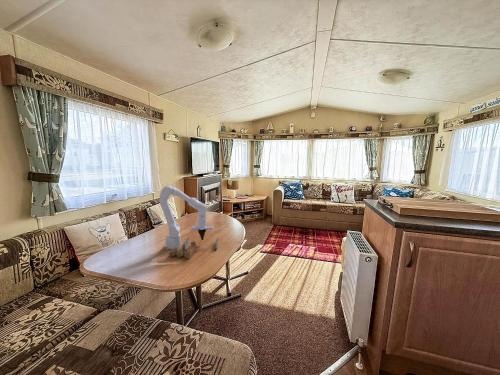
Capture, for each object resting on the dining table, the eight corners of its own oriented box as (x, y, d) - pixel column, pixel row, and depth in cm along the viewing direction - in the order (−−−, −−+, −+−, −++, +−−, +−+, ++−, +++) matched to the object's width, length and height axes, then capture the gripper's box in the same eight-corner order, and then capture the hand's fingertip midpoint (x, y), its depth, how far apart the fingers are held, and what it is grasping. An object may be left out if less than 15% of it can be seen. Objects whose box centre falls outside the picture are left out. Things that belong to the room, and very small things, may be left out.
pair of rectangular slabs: (183, 250, 135) (182, 244, 134) (187, 243, 146) (187, 237, 146) (216, 250, 136) (216, 244, 135) (218, 243, 148) (218, 237, 147)
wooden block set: (166, 251, 123) (172, 244, 133) (171, 264, 124) (177, 256, 134) (194, 242, 122) (198, 236, 132) (199, 255, 123) (203, 247, 133)
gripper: (190, 222, 137) (190, 241, 139) (211, 222, 138) (212, 241, 140) (192, 219, 144) (193, 237, 146) (213, 219, 145) (213, 237, 147)
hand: (202, 239), depth 144 cm, fingers closed
